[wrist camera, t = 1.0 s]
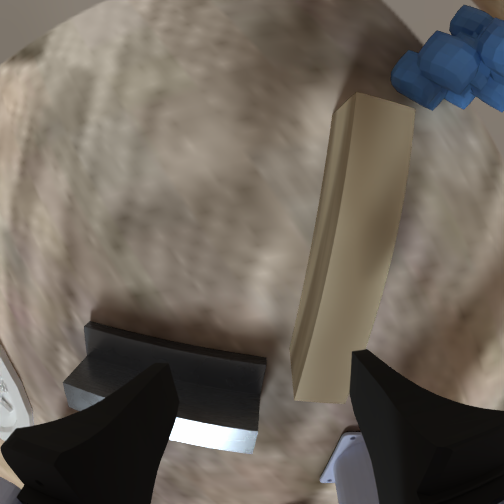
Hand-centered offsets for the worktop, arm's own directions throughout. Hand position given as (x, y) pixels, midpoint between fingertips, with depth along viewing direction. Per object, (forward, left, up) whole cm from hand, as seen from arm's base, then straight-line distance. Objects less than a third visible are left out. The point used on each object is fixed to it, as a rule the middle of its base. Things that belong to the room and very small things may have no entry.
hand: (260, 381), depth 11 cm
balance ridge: (+6, +9, -10) cm, 14 cm away
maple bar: (-4, -4, -10) cm, 11 cm away
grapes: (-10, -17, -10) cm, 22 cm away
